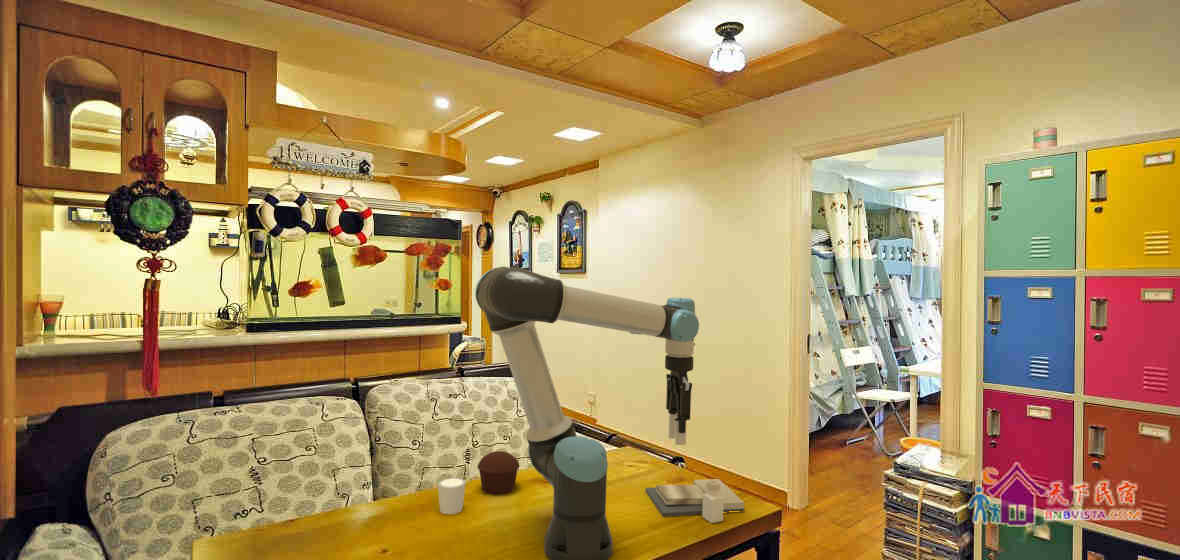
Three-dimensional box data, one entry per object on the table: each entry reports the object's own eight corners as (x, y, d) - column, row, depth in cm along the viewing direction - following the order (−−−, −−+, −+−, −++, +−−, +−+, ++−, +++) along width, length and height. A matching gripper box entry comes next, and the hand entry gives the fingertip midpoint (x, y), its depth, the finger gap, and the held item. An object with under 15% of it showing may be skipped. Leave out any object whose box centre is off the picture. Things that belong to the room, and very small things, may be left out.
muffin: (523, 482, 157) (524, 448, 157) (513, 498, 146) (514, 461, 146) (483, 479, 158) (484, 445, 158) (471, 495, 147) (472, 458, 147)
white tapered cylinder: (431, 511, 137) (432, 484, 136) (450, 501, 143) (450, 475, 143) (452, 517, 133) (452, 489, 133) (470, 507, 139) (471, 480, 139)
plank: (666, 504, 141) (666, 498, 141) (655, 490, 150) (656, 485, 150) (709, 504, 143) (709, 498, 143) (696, 490, 152) (697, 484, 152)
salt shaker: (714, 515, 139) (715, 478, 139) (723, 522, 135) (725, 484, 135) (701, 517, 137) (702, 480, 137) (710, 524, 134) (711, 486, 133)
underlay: (663, 517, 137) (663, 506, 137) (645, 491, 153) (645, 482, 153) (743, 512, 141) (744, 502, 141) (718, 487, 157) (718, 479, 157)
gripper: (705, 360, 137) (702, 451, 138) (681, 350, 155) (678, 431, 155) (677, 360, 136) (674, 452, 136) (656, 350, 153) (653, 431, 154)
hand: (676, 440), depth 146 cm, fingers open, 5 cm apart
